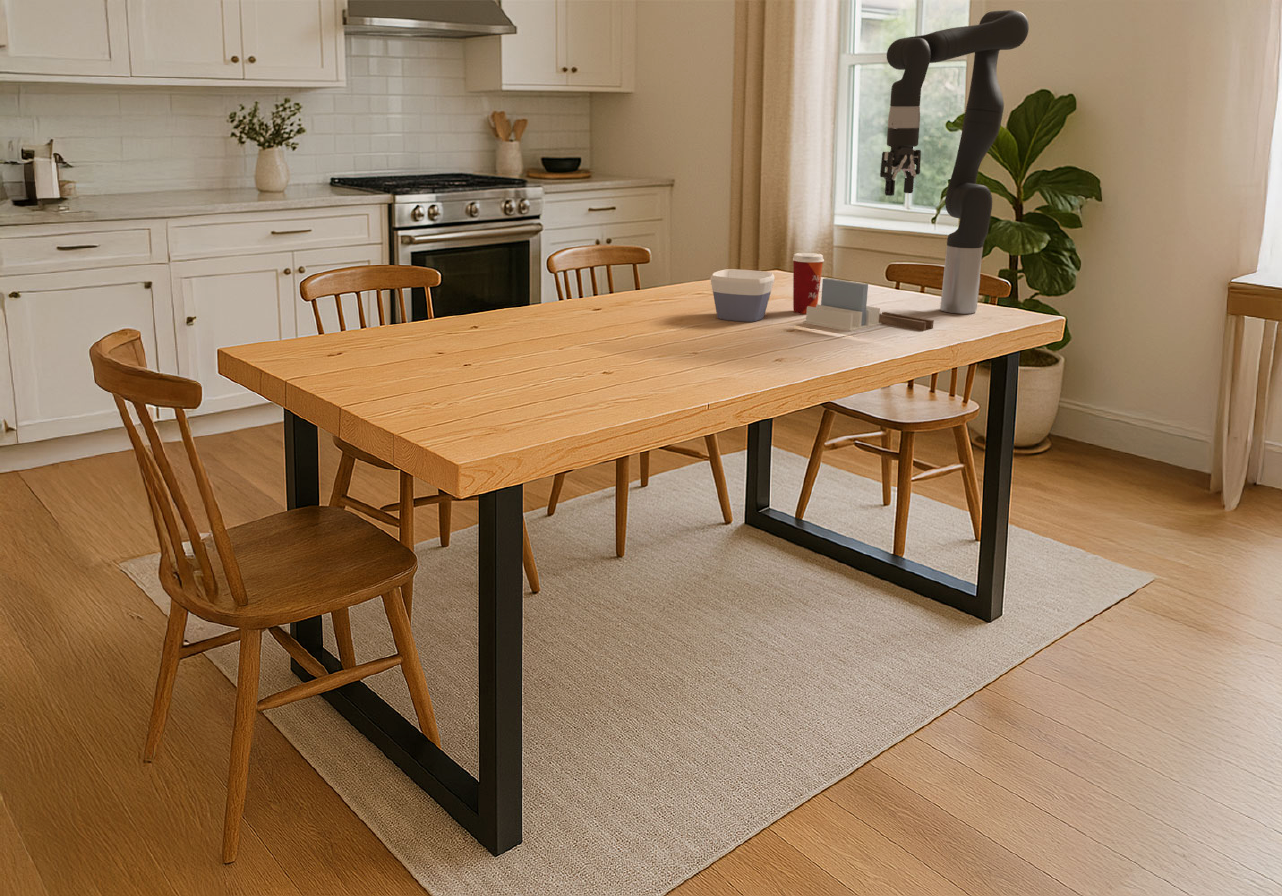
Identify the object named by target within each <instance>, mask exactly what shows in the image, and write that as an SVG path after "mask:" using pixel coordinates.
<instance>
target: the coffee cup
mask: <svg viewBox="0 0 1282 896" xmlns="http://www.w3.org/2000/svg"><path fill="white" fill-rule="evenodd" d="M792 261H793V262H792V263H793V265H792V266H793V269H792V271H793V278H792V280H793V285H792V286H793V288H792V290H793V293H792V297H793V299H792V300H793V302H792V303H793V305H792V307H793V313H795V314H800V315H802V314H803V315H806V313H807V306H810V307H816V305H819V298H820V297H819V295H820V287H821V279H822V273H823V272H822V271H823V263H824V262H825V259H824V255H823V254H821V253H813V252H797V253H794V255H793V257H792Z"/></svg>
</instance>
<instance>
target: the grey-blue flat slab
mask: <svg viewBox="0 0 1282 896" xmlns="http://www.w3.org/2000/svg"><path fill="white" fill-rule="evenodd" d="M868 289H869V283H863V282H856V281H850V280H843V279H837V278H830V277H825V278H822V287H821V301H820V305H824V306H830V307H836V308H842V309H848V310H853V311H859V312H862V322H861V326H863V325H865V317H866V306H867V301H868V292H869V291H868Z"/></svg>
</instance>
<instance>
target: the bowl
mask: <svg viewBox="0 0 1282 896" xmlns="http://www.w3.org/2000/svg"><path fill="white" fill-rule="evenodd" d="M709 278H710V285H711V290H712V294H713V300H714V306H715V310H716V317H717V318H718V319H719V320H724V321H730V322H731V321H732V322H746V323H755V322H757V321H760V320H762V319H764V318H765V315H766V310H767V308H768V307H767V306H768V303H769V300H770V296H771V293H772V290H773V289H772V288H773V287H774V282H775V278H776V277H775V275H774V273H773V272H770V271H763V270H762V271H761V270H751V269H750V270H749V269H739V268H738V269H737V268H736V269H734V268H733V269H731V268H727V269H722V270H718V271H715V272H713V273H712V274H711V276H710V277H709Z"/></svg>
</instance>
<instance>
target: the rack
mask: <svg viewBox="0 0 1282 896" xmlns="http://www.w3.org/2000/svg"><path fill="white" fill-rule="evenodd" d="M880 311H881V308H880V307H874V306H868V305H866V317H865V325H863V326H861V322H862V312H859V311H853V310H848V309H842V308H836V307H830V306H824V305H821V304H817V305H816V307H810V306H807V313H806V314H805V315H806V316H805V320H803V321H802V323H803V324H808V325H814V326H817V327H823V328H824V327H825V328H827V329H828V328H829V329H834V330H839V331H844V332H856V331H859V330H864V329H870V328H872V327H876V326H882V324H881V323H879V314H881V313H880Z"/></svg>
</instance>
